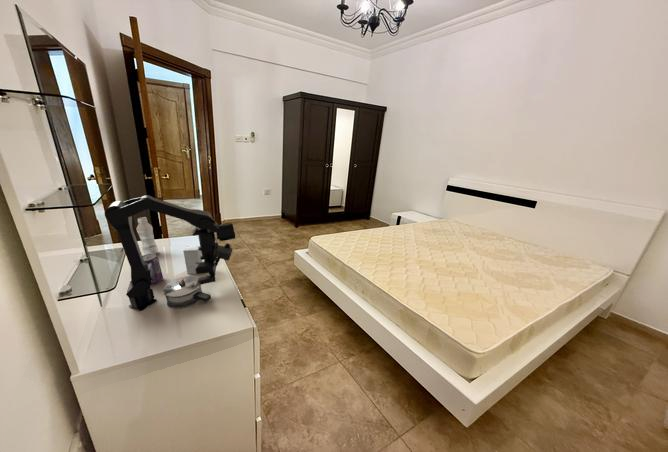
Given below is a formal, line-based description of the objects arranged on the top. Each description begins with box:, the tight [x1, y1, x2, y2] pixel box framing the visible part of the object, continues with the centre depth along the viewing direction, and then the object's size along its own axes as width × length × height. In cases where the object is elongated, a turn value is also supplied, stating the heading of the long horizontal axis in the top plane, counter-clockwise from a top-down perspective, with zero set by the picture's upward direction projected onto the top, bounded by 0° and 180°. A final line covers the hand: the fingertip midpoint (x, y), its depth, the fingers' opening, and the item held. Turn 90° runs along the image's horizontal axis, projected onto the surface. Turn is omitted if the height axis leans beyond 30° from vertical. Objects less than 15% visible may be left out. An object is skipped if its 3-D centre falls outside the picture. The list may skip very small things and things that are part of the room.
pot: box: [165, 285, 212, 310], centre depth 98 cm, size 12×18×5 cm
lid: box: [162, 274, 216, 298], centre depth 98 cm, size 13×18×2 cm
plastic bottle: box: [136, 216, 159, 255], centre depth 128 cm, size 6×7×20 cm
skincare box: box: [182, 245, 204, 275], centre depth 116 cm, size 6×4×12 cm
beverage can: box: [142, 254, 164, 286], centre depth 107 cm, size 7×7×12 cm
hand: (213, 276), depth 106 cm, fingers closed
